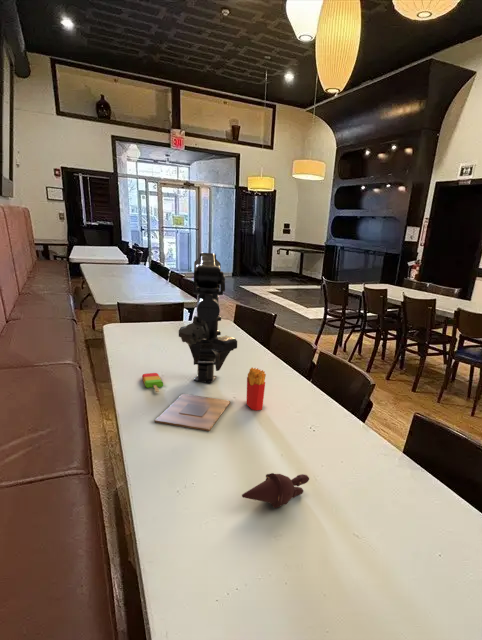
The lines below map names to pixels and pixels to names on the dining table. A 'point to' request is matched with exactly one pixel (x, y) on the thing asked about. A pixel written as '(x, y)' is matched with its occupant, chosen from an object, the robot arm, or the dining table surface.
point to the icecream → (277, 489)
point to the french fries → (255, 389)
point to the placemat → (193, 412)
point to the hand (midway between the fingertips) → (206, 366)
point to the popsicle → (152, 381)
